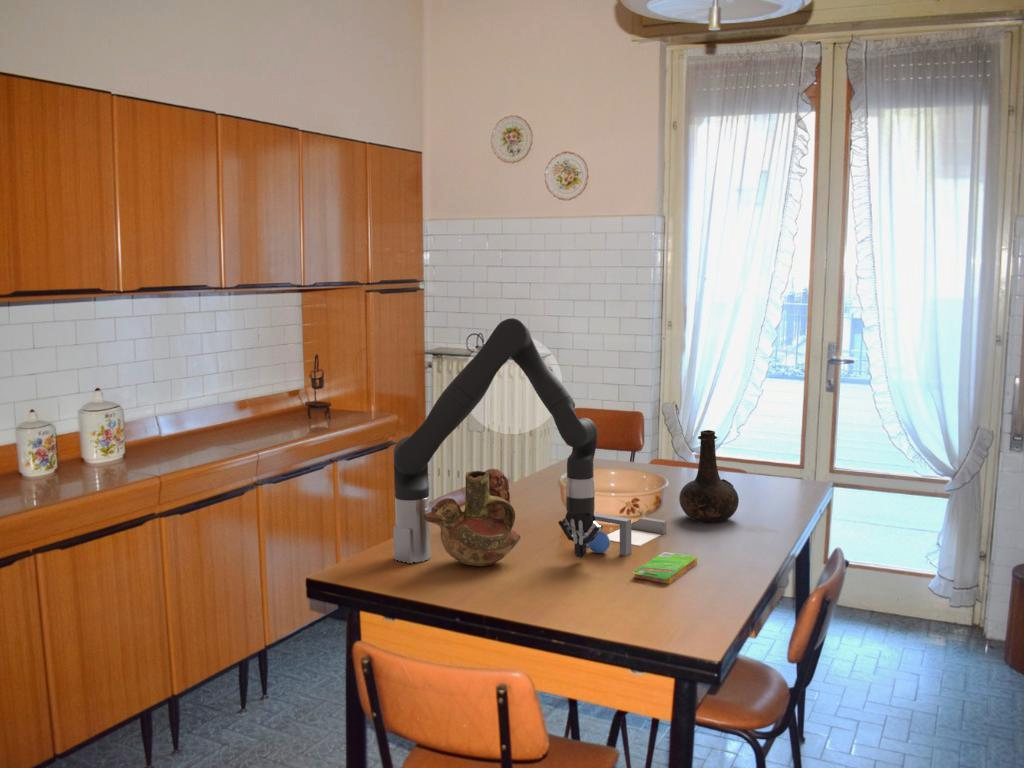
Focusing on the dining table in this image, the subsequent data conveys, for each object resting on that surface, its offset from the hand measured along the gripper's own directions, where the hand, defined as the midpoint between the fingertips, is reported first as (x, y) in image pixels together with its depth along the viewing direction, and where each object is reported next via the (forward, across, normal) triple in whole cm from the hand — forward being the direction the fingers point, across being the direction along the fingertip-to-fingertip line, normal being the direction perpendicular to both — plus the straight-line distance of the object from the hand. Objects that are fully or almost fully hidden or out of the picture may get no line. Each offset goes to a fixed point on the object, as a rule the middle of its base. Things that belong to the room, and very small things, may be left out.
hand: (580, 556), depth 248 cm
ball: (-2, 0, +10) cm, 10 cm away
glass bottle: (+2, +11, +58) cm, 59 cm away
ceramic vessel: (+2, -23, -17) cm, 29 cm away
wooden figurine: (+2, -40, +15) cm, 43 cm away
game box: (+2, +22, +6) cm, 23 cm away
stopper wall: (+2, 0, +37) cm, 37 cm away
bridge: (+2, 0, +13) cm, 13 cm away
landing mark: (+2, 0, +28) cm, 28 cm away
